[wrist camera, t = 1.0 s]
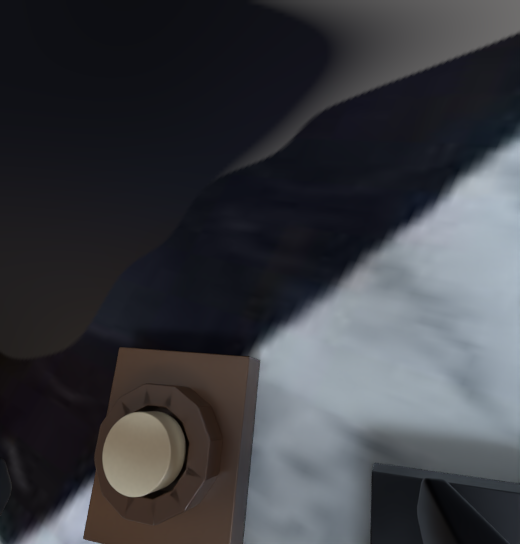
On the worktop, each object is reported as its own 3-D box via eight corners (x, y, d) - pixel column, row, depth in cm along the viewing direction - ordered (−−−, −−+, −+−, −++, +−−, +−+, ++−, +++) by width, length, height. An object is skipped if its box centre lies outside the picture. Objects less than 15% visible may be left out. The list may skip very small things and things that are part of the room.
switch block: (241, 560, 23) (213, 591, 19) (106, 528, 25) (59, 549, 22) (260, 359, 26) (238, 352, 22) (138, 350, 28) (101, 343, 25)
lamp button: (180, 496, 21) (163, 504, 19) (115, 483, 22) (94, 490, 21) (191, 415, 22) (176, 416, 21) (129, 407, 23) (110, 407, 22)
